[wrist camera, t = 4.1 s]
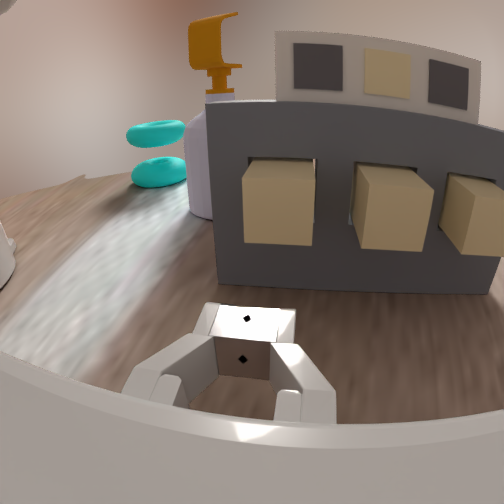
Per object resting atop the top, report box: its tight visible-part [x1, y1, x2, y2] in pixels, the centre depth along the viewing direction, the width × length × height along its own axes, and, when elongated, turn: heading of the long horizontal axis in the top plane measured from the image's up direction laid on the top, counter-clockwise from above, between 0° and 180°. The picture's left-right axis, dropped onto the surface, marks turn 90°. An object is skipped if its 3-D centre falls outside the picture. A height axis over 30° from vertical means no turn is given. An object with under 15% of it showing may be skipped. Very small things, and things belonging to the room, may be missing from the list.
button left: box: [242, 157, 315, 246], centre depth 21 cm, size 4×7×4 cm, turn 172°
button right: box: [438, 172, 504, 257], centre depth 19 cm, size 4×7×4 cm, turn 172°
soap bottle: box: [183, 12, 255, 220], centre depth 35 cm, size 9×9×25 cm
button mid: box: [349, 161, 434, 252], centre depth 20 cm, size 4×7×4 cm, turn 172°
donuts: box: [126, 120, 187, 188], centre depth 51 cm, size 10×10×10 cm
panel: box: [205, 31, 504, 294], centre depth 21 cm, size 24×3×19 cm, turn 82°
